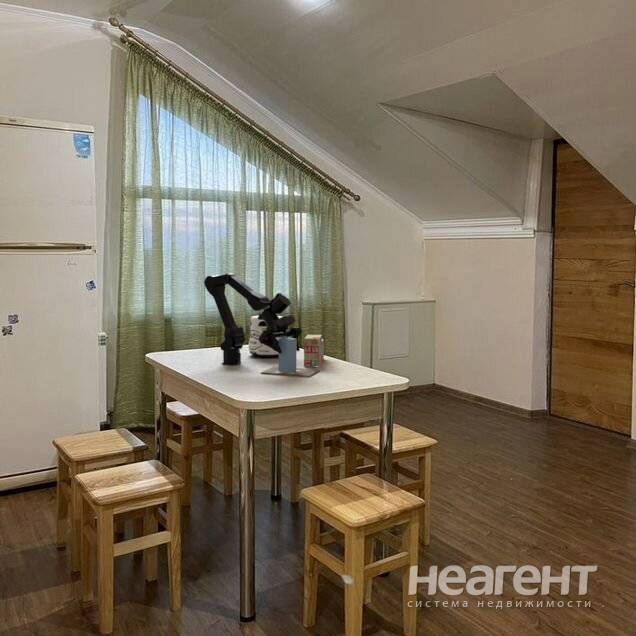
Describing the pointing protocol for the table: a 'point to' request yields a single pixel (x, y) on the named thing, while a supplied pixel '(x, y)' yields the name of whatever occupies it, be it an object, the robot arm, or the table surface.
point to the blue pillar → (287, 354)
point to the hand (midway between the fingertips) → (290, 351)
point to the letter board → (298, 372)
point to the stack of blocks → (313, 350)
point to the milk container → (254, 342)
